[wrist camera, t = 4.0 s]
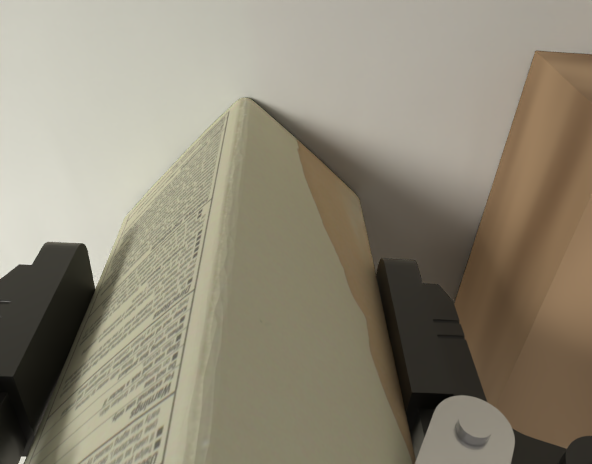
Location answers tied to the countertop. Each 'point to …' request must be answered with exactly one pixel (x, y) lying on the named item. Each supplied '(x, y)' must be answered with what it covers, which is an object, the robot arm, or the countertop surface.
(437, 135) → the countertop surface
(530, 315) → the base brick
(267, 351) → the box
